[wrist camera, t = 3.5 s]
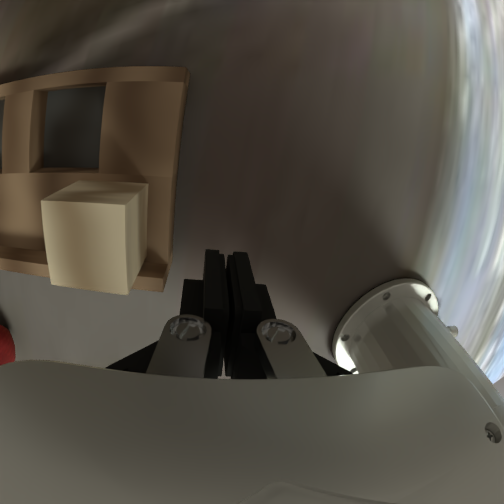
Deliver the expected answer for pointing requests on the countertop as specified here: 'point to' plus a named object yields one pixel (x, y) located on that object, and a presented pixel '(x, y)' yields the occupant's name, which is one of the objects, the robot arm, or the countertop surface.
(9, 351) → the onion
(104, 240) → the block
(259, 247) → the countertop surface
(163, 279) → the track
